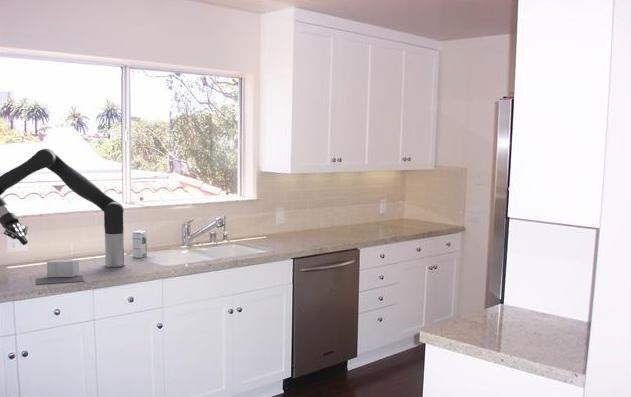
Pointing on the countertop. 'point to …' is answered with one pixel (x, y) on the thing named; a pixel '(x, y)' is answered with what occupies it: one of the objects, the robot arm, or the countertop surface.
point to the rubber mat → (59, 280)
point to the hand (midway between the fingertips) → (25, 243)
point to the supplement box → (62, 268)
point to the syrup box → (139, 244)
